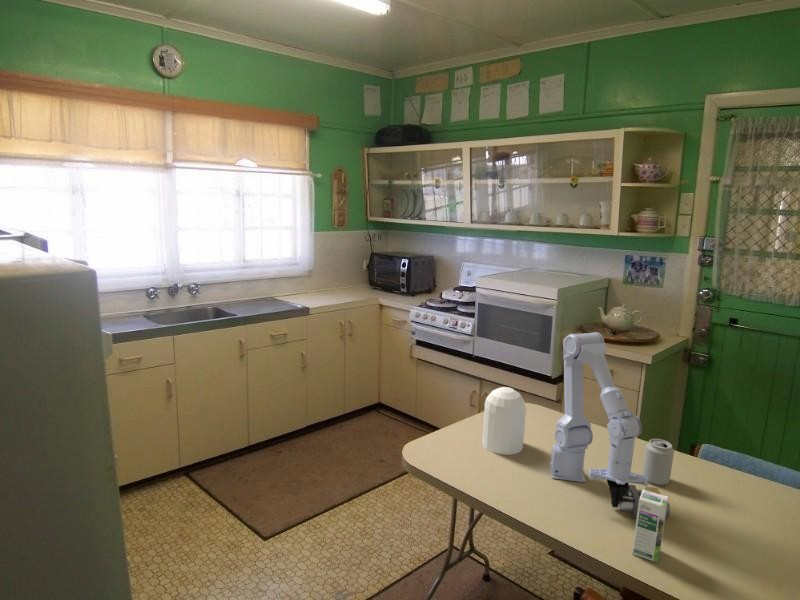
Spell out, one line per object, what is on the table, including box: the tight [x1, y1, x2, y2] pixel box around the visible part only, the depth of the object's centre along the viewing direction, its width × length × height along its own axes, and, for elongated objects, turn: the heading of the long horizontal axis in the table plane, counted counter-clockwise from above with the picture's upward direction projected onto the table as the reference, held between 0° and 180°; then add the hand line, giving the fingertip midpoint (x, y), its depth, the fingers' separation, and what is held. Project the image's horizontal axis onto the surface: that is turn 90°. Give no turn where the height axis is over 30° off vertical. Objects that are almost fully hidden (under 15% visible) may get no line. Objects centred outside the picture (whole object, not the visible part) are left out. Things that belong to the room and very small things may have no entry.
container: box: [482, 386, 527, 456], centre depth 178 cm, size 14×13×20 cm
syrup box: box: [631, 489, 669, 563], centre depth 127 cm, size 6×6×14 cm
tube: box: [618, 496, 671, 517], centre depth 144 cm, size 12×4×4 cm, turn 79°
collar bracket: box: [624, 483, 661, 520], centre depth 145 cm, size 10×10×6 cm
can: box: [641, 438, 675, 486], centre depth 160 cm, size 8×8×12 cm
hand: (614, 505), depth 146 cm, fingers closed
